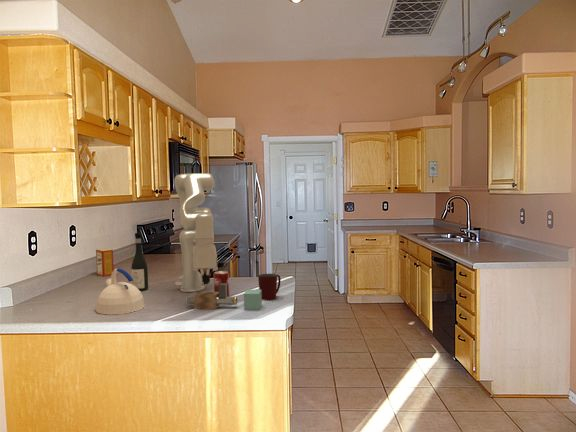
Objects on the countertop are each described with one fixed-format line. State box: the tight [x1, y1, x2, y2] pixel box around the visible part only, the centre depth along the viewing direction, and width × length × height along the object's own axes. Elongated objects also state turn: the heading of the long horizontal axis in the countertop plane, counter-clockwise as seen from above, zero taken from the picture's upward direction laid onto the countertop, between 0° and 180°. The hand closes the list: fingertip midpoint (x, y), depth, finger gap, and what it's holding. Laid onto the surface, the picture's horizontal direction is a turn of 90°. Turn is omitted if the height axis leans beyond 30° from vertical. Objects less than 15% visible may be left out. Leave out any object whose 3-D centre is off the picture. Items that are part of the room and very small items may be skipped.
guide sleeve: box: [193, 291, 220, 310], centre depth 200 cm, size 10×6×6 cm
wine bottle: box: [130, 232, 149, 292], centre depth 236 cm, size 8×8×30 cm
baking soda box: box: [95, 248, 115, 277], centre depth 280 cm, size 10×6×16 cm
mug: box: [257, 273, 282, 301], centre depth 214 cm, size 12×9×11 cm
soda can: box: [213, 270, 230, 297], centre depth 218 cm, size 7×7×12 cm
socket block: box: [243, 289, 263, 311], centre depth 198 cm, size 6×8×7 cm
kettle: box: [95, 268, 145, 316], centre depth 201 cm, size 20×21×18 cm
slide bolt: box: [186, 283, 238, 306], centre depth 199 cm, size 22×3×9 cm, turn 85°
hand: (206, 283), depth 199 cm, fingers closed
